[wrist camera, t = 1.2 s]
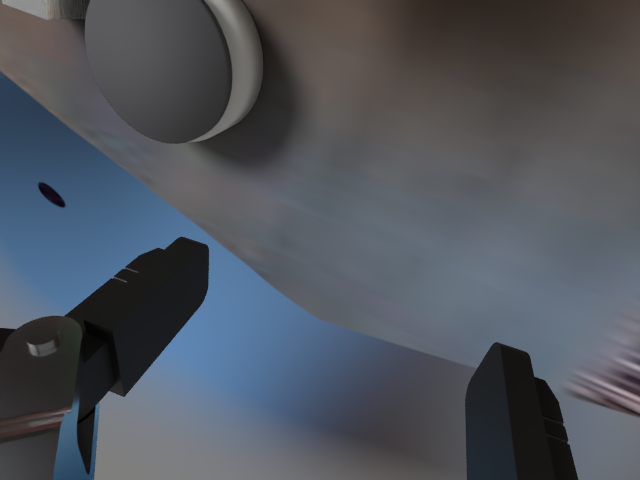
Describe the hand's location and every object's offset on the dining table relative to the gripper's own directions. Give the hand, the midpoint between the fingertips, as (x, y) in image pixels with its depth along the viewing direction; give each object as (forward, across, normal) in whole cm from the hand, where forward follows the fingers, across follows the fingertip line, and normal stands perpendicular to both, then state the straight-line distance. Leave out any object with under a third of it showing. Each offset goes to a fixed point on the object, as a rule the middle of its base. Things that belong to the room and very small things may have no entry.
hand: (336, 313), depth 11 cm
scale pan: (+19, +19, 0) cm, 27 cm away
